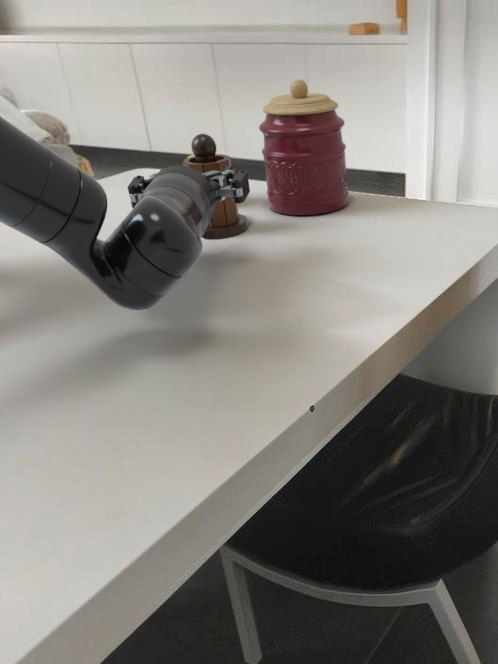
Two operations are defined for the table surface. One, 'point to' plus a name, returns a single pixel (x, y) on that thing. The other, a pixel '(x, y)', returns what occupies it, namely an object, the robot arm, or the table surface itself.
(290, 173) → the kitchen canister
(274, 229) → the table surface
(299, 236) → the table surface
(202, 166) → the wooden slatted cup
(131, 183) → the robot arm
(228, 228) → the round-topped peg stand
